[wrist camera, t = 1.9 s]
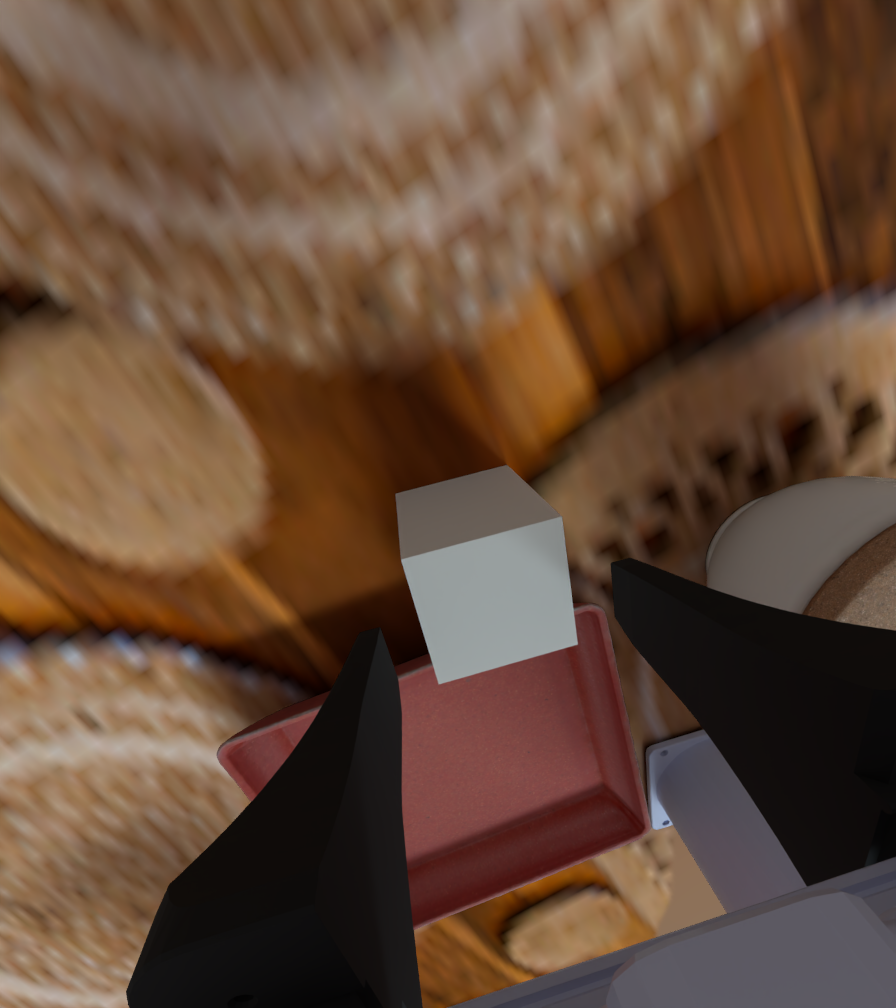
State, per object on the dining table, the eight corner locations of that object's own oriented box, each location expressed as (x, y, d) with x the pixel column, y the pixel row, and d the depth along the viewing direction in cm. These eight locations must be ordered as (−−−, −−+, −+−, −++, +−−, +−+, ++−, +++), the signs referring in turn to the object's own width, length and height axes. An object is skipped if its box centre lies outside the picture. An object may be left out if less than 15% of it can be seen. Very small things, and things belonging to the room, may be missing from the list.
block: (506, 464, 18) (561, 516, 12) (523, 561, 20) (578, 644, 14) (395, 493, 18) (400, 559, 12) (422, 589, 20) (438, 684, 14)
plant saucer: (572, 563, 21) (606, 601, 18) (626, 783, 28) (656, 838, 24) (232, 690, 20) (205, 751, 17) (371, 881, 27) (370, 948, 24)
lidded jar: (691, 448, 19) (950, 532, 10) (884, 448, 21) (1251, 520, 12) (645, 639, 23) (807, 819, 14) (812, 627, 24) (1051, 781, 16)
